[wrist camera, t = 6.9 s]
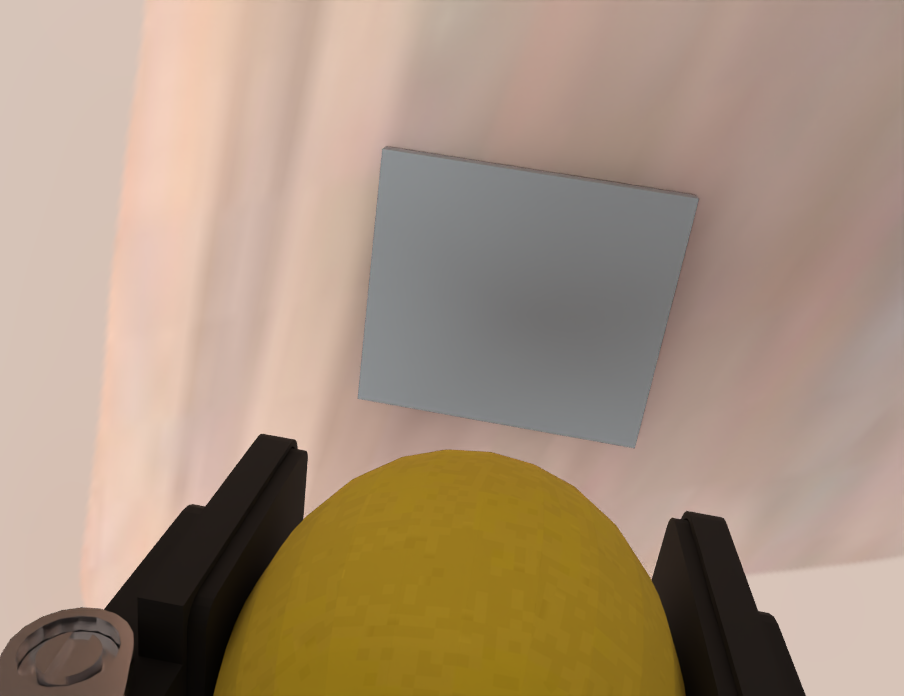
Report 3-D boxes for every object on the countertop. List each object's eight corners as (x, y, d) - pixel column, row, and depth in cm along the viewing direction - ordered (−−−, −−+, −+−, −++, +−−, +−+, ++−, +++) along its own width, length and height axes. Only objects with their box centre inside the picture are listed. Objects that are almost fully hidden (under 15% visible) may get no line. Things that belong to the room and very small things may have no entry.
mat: (695, 195, 22) (698, 198, 22) (632, 439, 25) (634, 448, 25) (386, 146, 23) (382, 148, 22) (362, 390, 26) (357, 398, 25)
